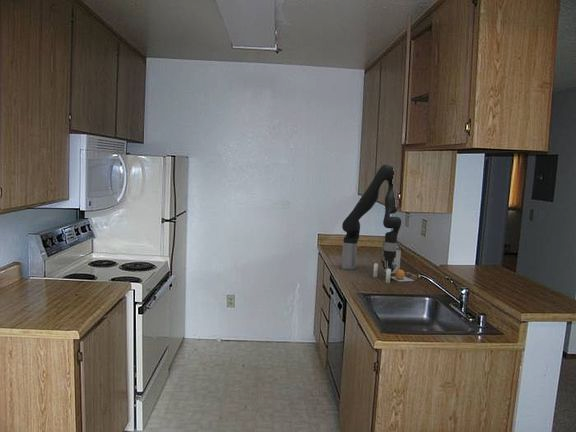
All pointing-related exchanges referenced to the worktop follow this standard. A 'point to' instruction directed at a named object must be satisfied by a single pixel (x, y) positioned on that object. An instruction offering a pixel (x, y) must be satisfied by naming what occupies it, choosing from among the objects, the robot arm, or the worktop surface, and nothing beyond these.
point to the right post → (388, 275)
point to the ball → (399, 274)
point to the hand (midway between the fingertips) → (387, 277)
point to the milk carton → (396, 260)
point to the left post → (375, 270)
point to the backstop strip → (411, 276)
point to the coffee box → (382, 253)
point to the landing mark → (402, 279)
